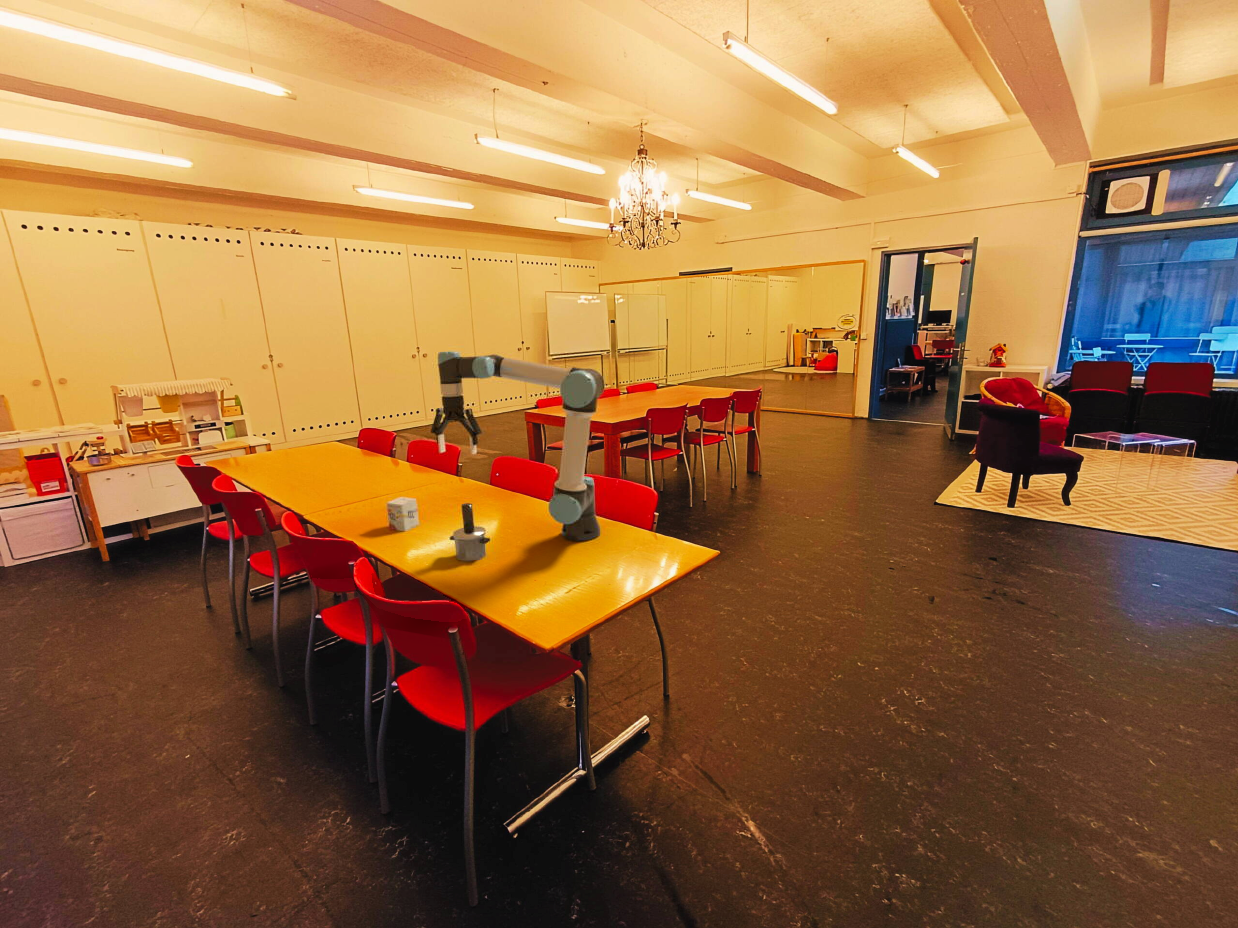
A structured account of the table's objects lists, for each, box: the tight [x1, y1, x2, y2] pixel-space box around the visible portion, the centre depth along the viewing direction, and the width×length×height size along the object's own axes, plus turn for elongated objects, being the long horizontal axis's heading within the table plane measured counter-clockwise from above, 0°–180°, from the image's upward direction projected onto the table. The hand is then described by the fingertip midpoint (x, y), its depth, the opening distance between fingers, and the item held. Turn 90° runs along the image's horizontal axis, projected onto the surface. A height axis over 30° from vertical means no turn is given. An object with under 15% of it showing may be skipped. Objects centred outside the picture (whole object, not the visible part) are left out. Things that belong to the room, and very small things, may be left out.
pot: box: [449, 535, 491, 563], centre depth 191 cm, size 15×10×8 cm
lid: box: [452, 502, 487, 541], centre depth 189 cm, size 11×11×11 cm
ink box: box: [385, 496, 420, 532], centre depth 222 cm, size 9×9×12 cm
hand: (458, 452), depth 198 cm, fingers open, 13 cm apart
